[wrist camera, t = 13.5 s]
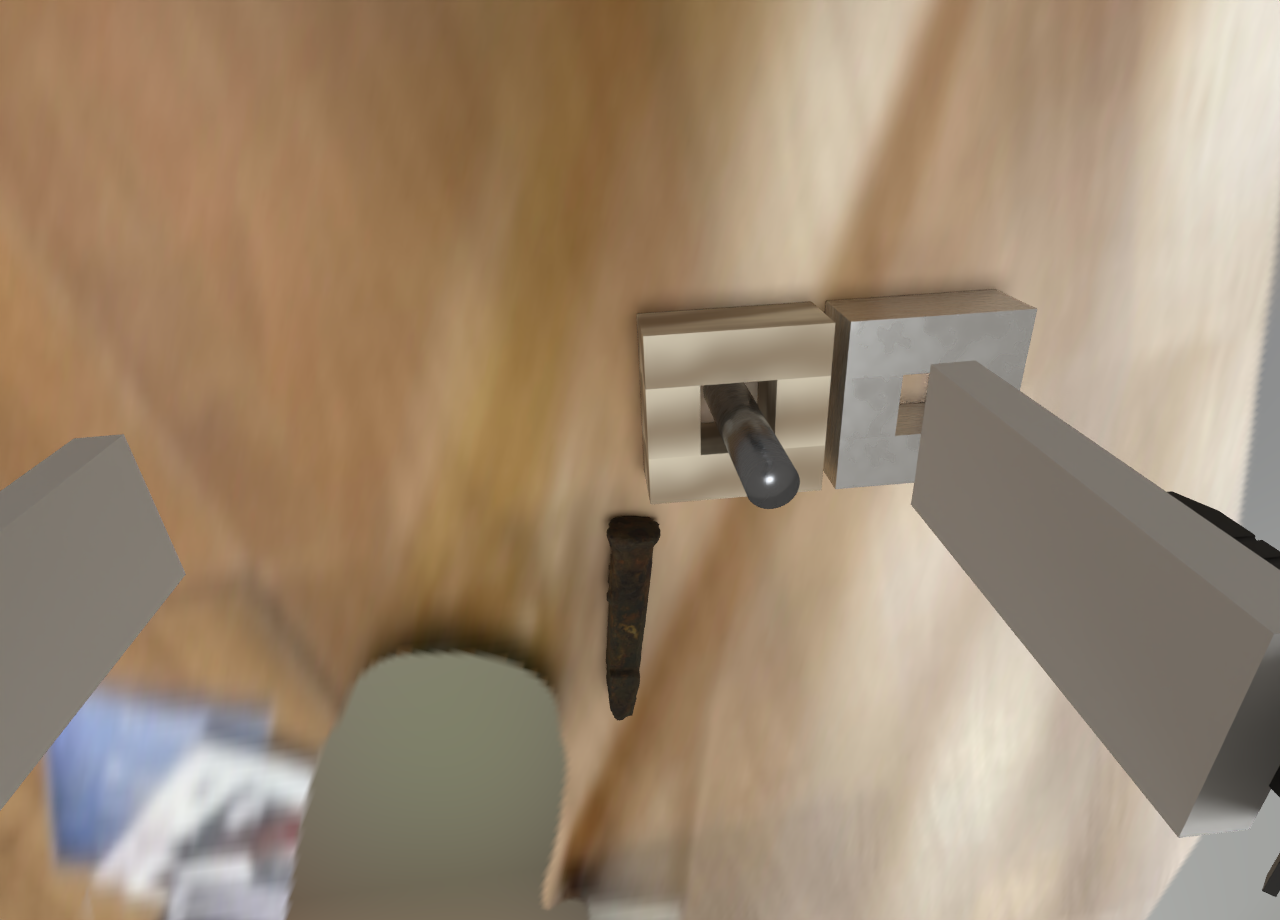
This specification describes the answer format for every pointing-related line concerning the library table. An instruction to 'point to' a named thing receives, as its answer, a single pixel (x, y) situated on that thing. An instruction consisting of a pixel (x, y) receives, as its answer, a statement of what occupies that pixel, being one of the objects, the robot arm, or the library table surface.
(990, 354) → the socket block
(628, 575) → the hand tool
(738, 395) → the dark grey rounded rod
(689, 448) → the beige block with hole
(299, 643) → the library table surface
